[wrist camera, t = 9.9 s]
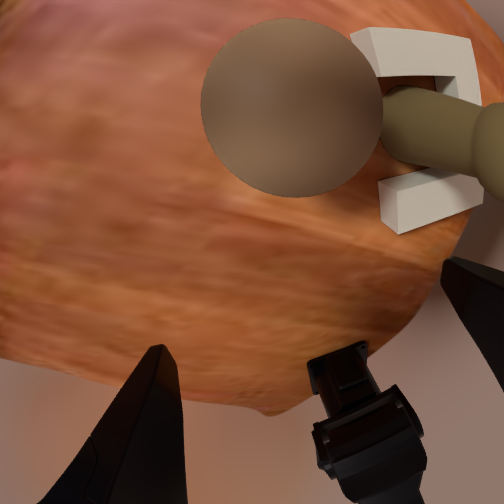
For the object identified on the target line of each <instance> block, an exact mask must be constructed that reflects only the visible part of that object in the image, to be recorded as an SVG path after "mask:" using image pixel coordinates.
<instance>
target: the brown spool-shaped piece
mask: <svg viewBox="0 0 504 504" xmlns="http://www.w3.org/2000/svg"><path fill="white" fill-rule="evenodd" d="M201 115H202V121H203V126H204V130H205V133H206V135H207V138H208V140H209V143H210V145H211V147H212V148H213V150H214V152H215V154H216V155H217V157H218V158H219V159H220V161H221V162H222V163H223V164H224V165H225V167H226V168H227V169H228V170H229V171H230V172H231V173H232V174H234V175H235V176H236V177H238V178H239V179H240V180H241V181H243V182H245V183H246V184H248V185H250V186H251V187H253V188H255V189H258V190H260V191H262V192H265V193H268V194H272V195H276V196H282V197H293V198H300V197H310V196H315V195H319V194H322V193H325V192H328V191H331V190H333V189H335V188H337V187H339V186H341V185H342V184H344V183H345V182H347V181H348V180H350V179H351V178H352V177H353V176H354V175H355V174H357V173H358V172H359V171H360V169H361V168H362V167H363V166H364V165H365V164H366V162H367V161H368V159H369V158H370V157H371V155H372V153H373V151H374V149H375V147H376V145H377V142H378V140H379V137H380V133H381V129H382V123H383V99H382V93H381V89H380V85H379V82H378V79H377V77H376V74H375V72H374V70H373V68H372V66H371V65H370V63H369V61H368V60H367V59H366V57H365V56H364V54H363V53H362V52H361V51H360V50H359V49H358V48H357V47H356V46H355V45H354V44H353V43H352V42H351V41H350V40H349V39H347V38H346V37H345V36H343V35H342V34H340V33H339V32H337V31H335V30H333V29H331V28H329V27H327V26H325V25H322V24H319V23H316V22H313V21H309V20H304V19H294V18H283V19H274V20H269V21H264V22H261V23H258V24H256V25H253V26H251V27H249V28H247V29H245V30H243V31H241V32H240V33H238V34H237V35H236V36H234V37H233V38H231V39H230V40H229V41H228V42H227V43H226V44H225V45H224V46H223V47H222V48H221V50H220V51H219V52H218V53H217V55H216V56H215V57H214V59H213V61H212V63H211V65H210V67H209V68H208V71H207V74H206V76H205V79H204V83H203V88H202V93H201Z"/></svg>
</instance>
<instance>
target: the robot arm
mask: <svg viewBox="0 0 504 504" xmlns="http://www.w3.org/2000/svg"><path fill="white" fill-rule="evenodd" d="M440 283H441V286H442V288H443V290H444V292H445V293H446V295H447V297H448V298H449V300H450V302H451V304H452V305H453V307H454V309H455V311H456V313H457V314H458V316H459V318H460V320H461V321H462V323H463V324H464V326H465V327H466V329H467V331H468V332H469V334H470V335H471V337H472V338H473V340H474V341H475V343H476V345H477V346H478V348H479V349H480V351H481V353H482V354H483V356H484V358H485V359H486V361H487V363H488V364H489V366H490V368H491V370H492V372H493V373H494V375H495V377H496V379H497V380H498V382H499V384H500V386H501V388H502V390H503V392H504V272H503V271H500V270H497V269H494V268H491V267H488V266H485V265H481V264H478V263H475V262H472V261H468V260H465V259H462V258H459V257H455V256H453V257H450V258H448V259H446V260H444V262H443V267H442V273H441V278H440ZM367 347H368V345H367V343H366V342H365V341H362V342H359V343H357V344H354V345H351V346H349V347H346V348H344V349H341V350H338V351H336V352H333V353H330V354H327V355H325V356H322V357H319V358H316V359H313V360H310V361H309V362H307V369H308V373H309V378H310V383H311V387H312V392H313V394H314V395H318V394H320V397H321V399H322V402H323V404H324V408H325V410H326V413H327V416H328V419H326V420H323V421H321V422H316V423H314V424H313V427H314V430H313V431H312V432H311V433H312V436H313V439H314V442H315V446H316V455H317V465H318V467H319V469H321V470H324V471H325V472H326V473H327V474H328V476H329V477H330V478H331V480H333V479H336V478H337V480H338V482H339V485H340V487H341V490H342V492H343V494H344V495H345V496H346V498H348V499H349V500H351V501H352V502H353V503H358V504H425V503H424V501H423V498H422V496H421V493H420V491H419V488H420V484H421V479H422V475H423V471H425V470H426V465H427V456H426V452H425V450H424V447H423V445H422V442H421V440H420V438H422V437H423V436H424V432H423V428H422V425H421V423H420V420H419V418H418V416H417V414H416V413H415V411H414V409H413V408H412V406H411V405H410V403H409V402H408V401H407V399H406V398H405V396H404V395H403V393H402V392H401V391H400V389H399V388H398V386H397V385H396V384H395V385H393V386H391V388H389V389H387V390H386V391H384V392H382V393H381V391H380V389H379V387H378V386H377V384H376V382H375V380H374V378H373V376H372V374H371V372H370V371H369V369H368V367H367ZM184 455H185V454H184V429H183V410H182V402H181V394H180V386H179V378H178V370H177V365H176V362H175V360H174V359H173V357H172V356H171V354H170V352H169V351H168V349H167V347H166V346H165V345H164V344H159V345H154V346H151V347H150V348H149V349H148V350H147V352H146V353H145V355H144V356H143V357H142V359H141V360H140V362H139V363H138V365H137V366H136V368H135V369H134V370H133V372H132V373H131V375H130V376H129V378H128V379H127V381H126V382H125V384H124V385H123V386H122V388H121V389H120V391H119V392H118V394H117V395H116V397H115V398H114V400H113V401H112V403H111V405H110V406H109V407H108V409H107V410H106V412H105V413H104V415H103V417H102V418H101V419H100V421H99V422H98V424H97V425H96V427H95V428H94V430H93V432H92V433H91V437H88V439H87V440H86V442H85V443H84V445H83V447H82V448H81V449H80V451H79V452H78V454H77V455H76V457H75V458H74V459H73V461H72V462H71V463H70V465H69V466H68V467H67V469H66V470H65V471H64V473H63V474H62V475H61V477H60V478H59V479H58V480H57V481H56V483H55V484H54V486H53V487H52V488H51V489H50V490H49V492H48V493H47V494H46V495H45V497H44V498H43V499H42V500H41V501H39V502H38V503H37V504H188V500H187V487H186V472H185V456H184Z"/></svg>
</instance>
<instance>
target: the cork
mask: <svg viewBox="0 0 504 504" xmlns="http://www.w3.org/2000/svg"><path fill="white" fill-rule="evenodd" d="M380 139H381V142H382V144H383V147H384V148H385V149H386V150H387V152H388V153H389V154H390V155H391V156H392V157H393V158H395V159H397V160H398V161H400V162H406V163H411V164H417V165H422V166H427V167H432V168H436V169H441V170H445V171H450V172H454V173H458V174H462V175H466V176H470V177H474V178H477V179H478V181H479V183H480V185H481V186H482V187H483V188H484V189H485V190H486V191H487V192H488V193H490V194H491V195H492V196H493V197H495V198H497V199H498V200H500V201H504V103H493V104H490V105H488V106H487V107H486V108H485V107H482V106H479V105H476V104H474V103H471V102H468V101H465V100H462V99H459V98H455V97H452V96H449V95H445V94H442V93H438V92H435V91H431V90H427V89H423V88H419V87H415V86H410V85H400V86H397V87H395V88H393V89H391V90H389V92H388V93H387V94H386V95H385V96H384V97H383V123H382V129H381V133H380Z"/></svg>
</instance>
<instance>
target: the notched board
mask: <svg viewBox="0 0 504 504" xmlns="http://www.w3.org/2000/svg"><path fill="white" fill-rule="evenodd" d="M350 37H351V41H352V43H353V44H354V45H355V46H356V47H357V48H358V49H359V50H360V51H361V52H362V53H363V54H364V56H365V57H366V59H367V60H368V61H369V63H370V65H371V66H372V68H373V70H374V72H375V74H376V77H386V76H415V75H431V76H434V79H435V85H436V91H437V92H438V93H442V94H445V95H449V96H452V97H455V98H459V99H462V100H465V101H468V102H471V103H474V104H476V105H479V106H482V103H481V94H480V87H479V80H478V74H477V68H476V63H475V58H474V53H473V49H472V45H471V41H470V39H468V38H463V37H458V36H453V35H447V34H441V33H435V32H428V31H420V30H411V29H399V28H381V27H367V28H365V29H362V30H359V31H357V32H354V33H352V34H350ZM378 189H379V201H380V215H381V221H382V222H383V223H384V224H386V225H387V226H388V227H389V228H391V229H392V230H393V231H394V232H396V233H397V234H401V233H404V232H407V231H410V230H412V229H415V228H418V227H421V226H424V225H426V224H429V223H432V222H435V221H437V220H440V219H443V218H445V217H448V216H451V215H453V214H456V213H459V212H461V211H464V210H467V209H469V208H472V207H475V206H477V205H480V204H482V203H483V193H484V188H483V187H482V186H481V185H480V183H479V181H478V179H477V178H474V177H470V176H466V175H462V174H458V173H454V172H450V171H445V170H441V169H436V168H428V169H424V170H420V171H416V172H412V173H408V174H404V175H400V176H396V177H392V178H388V179H384V180H380V181H378Z"/></svg>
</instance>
